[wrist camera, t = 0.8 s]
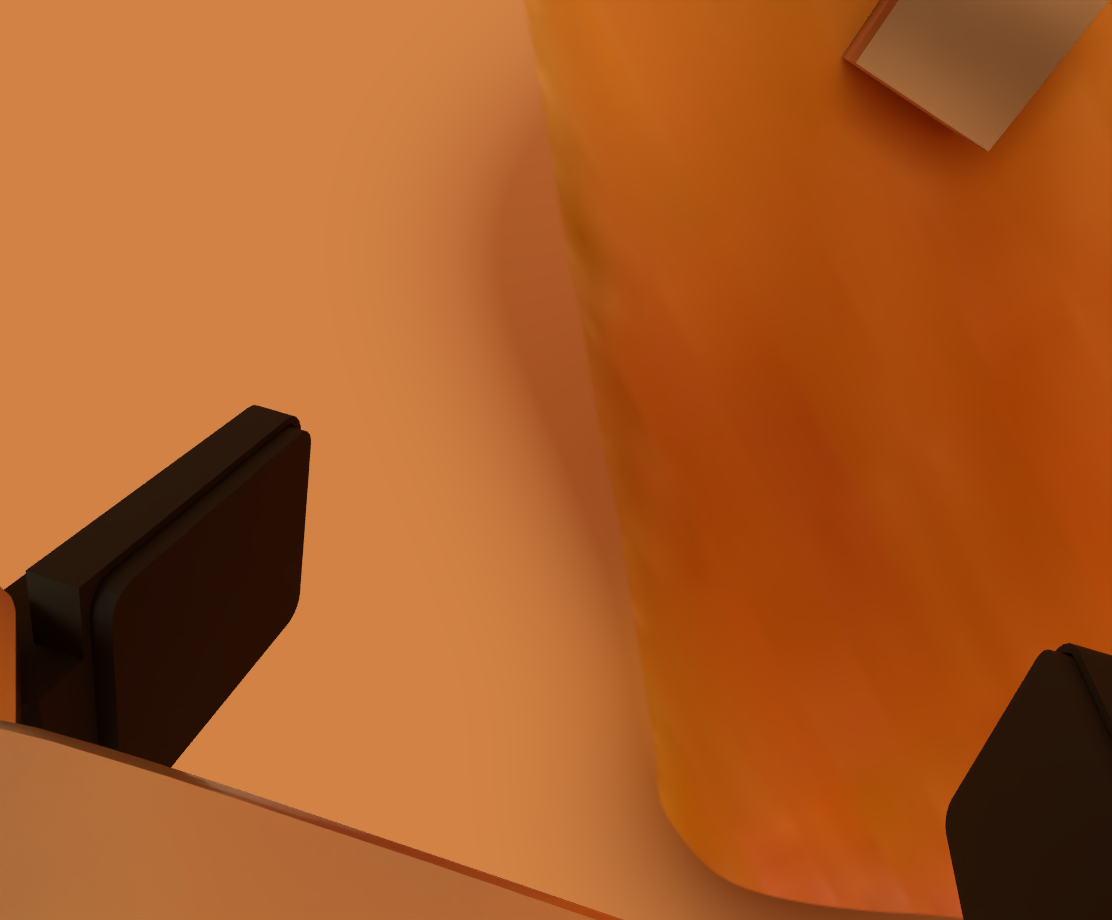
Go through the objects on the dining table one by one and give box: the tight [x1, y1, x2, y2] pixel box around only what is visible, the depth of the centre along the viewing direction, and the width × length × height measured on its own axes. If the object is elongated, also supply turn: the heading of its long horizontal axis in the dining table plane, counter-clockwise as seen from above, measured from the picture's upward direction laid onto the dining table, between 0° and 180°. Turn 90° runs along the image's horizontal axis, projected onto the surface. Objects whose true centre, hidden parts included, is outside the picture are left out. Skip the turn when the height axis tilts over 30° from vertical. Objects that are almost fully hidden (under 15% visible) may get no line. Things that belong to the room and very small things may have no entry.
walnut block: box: [842, 0, 1109, 152], centre depth 29 cm, size 5×5×6 cm
